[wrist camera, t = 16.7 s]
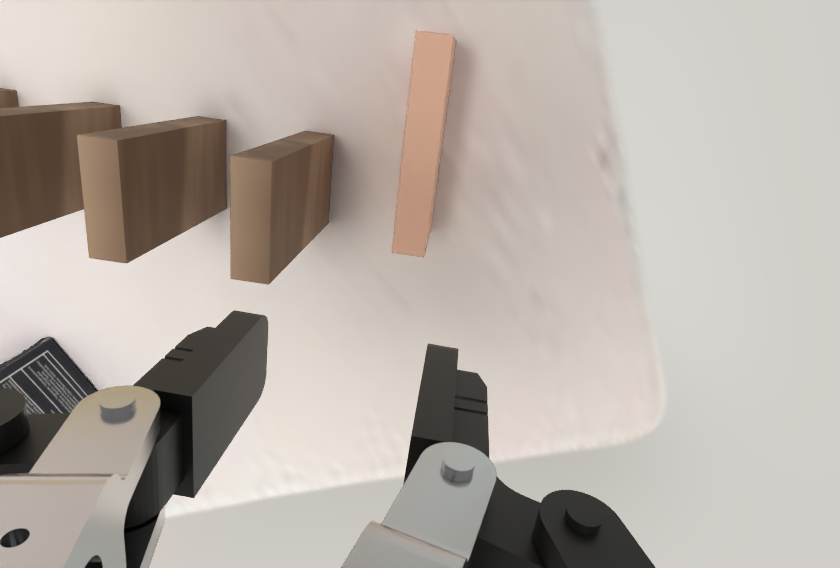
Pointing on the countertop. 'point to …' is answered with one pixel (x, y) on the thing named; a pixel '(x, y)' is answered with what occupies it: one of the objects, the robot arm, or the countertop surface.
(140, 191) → the domino
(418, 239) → the domino
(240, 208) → the domino
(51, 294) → the countertop surface
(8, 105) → the domino
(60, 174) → the domino
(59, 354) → the small box
